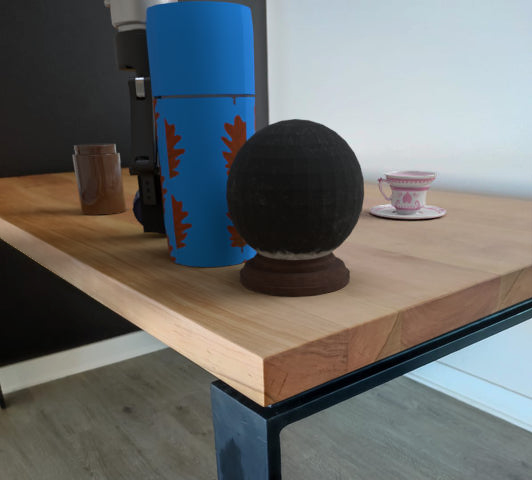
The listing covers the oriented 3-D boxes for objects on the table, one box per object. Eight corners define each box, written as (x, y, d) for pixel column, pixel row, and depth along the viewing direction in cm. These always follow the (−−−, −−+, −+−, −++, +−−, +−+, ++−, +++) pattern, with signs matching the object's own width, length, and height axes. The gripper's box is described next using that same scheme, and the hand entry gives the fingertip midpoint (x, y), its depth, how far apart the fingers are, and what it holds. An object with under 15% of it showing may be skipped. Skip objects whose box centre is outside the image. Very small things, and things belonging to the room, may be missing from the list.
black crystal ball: (295, 255, 64) (296, 117, 58) (386, 278, 55) (399, 117, 49) (204, 278, 56) (193, 120, 50) (292, 309, 47) (293, 121, 41)
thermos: (255, 243, 70) (248, 17, 60) (263, 264, 61) (257, 0, 50) (170, 246, 69) (149, 18, 59) (164, 269, 60) (137, 0, 49)
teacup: (438, 207, 92) (442, 169, 90) (453, 220, 81) (458, 177, 79) (366, 207, 93) (368, 169, 91) (372, 220, 82) (374, 178, 80)
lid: (203, 228, 75) (204, 219, 76) (179, 184, 68) (180, 174, 69) (149, 239, 77) (151, 229, 78) (121, 197, 70) (123, 187, 71)
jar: (75, 215, 91) (64, 146, 87) (88, 208, 98) (79, 143, 94) (120, 214, 91) (111, 145, 87) (130, 207, 98) (123, 142, 94)
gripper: (136, 43, 73) (153, 206, 82) (80, 15, 51) (112, 243, 60) (192, 42, 73) (203, 205, 82) (160, 13, 51) (180, 242, 60)
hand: (164, 221), depth 71 cm, fingers open, 12 cm apart
